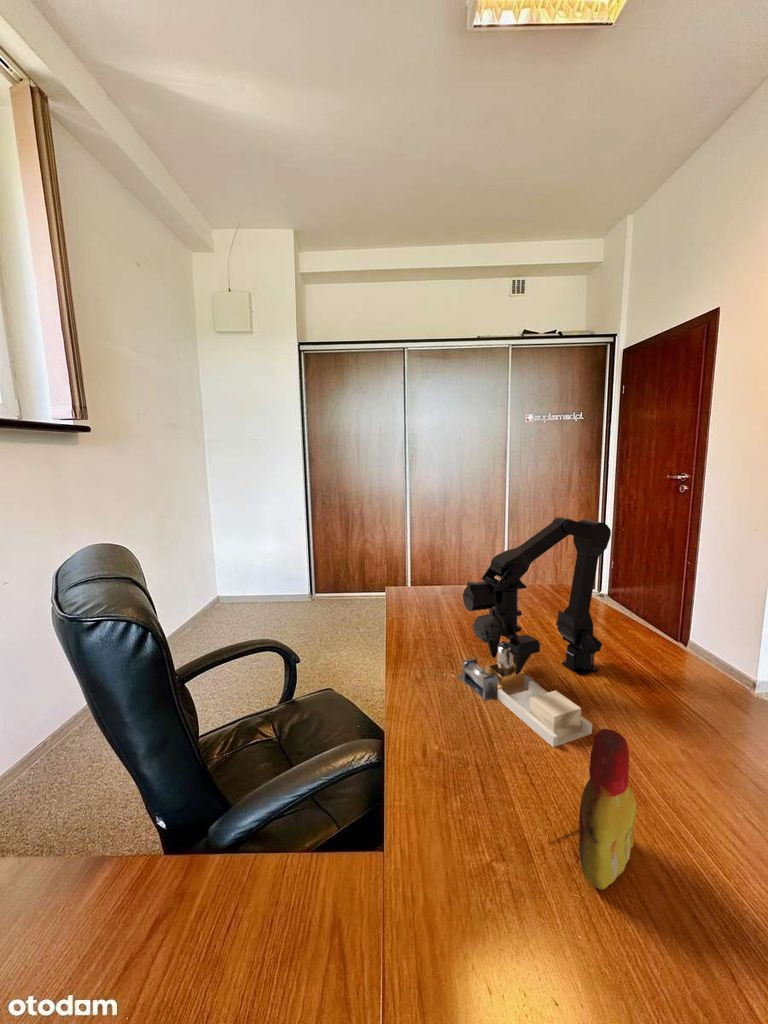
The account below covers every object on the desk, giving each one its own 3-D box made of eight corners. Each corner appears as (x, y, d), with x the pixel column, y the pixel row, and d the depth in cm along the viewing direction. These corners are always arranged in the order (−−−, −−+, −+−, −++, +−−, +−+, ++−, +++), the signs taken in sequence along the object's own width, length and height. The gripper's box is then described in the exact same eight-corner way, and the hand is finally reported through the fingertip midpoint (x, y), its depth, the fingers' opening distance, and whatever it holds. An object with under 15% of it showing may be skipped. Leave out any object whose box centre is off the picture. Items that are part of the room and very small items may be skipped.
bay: (531, 690, 99) (532, 680, 99) (591, 735, 83) (592, 724, 82) (497, 700, 95) (497, 690, 95) (553, 749, 79) (553, 737, 79)
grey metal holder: (508, 664, 112) (509, 647, 111) (540, 686, 101) (540, 668, 100) (458, 676, 106) (458, 659, 105) (485, 702, 95) (485, 682, 94)
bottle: (614, 914, 51) (622, 768, 48) (562, 877, 55) (567, 742, 53) (641, 848, 59) (649, 721, 56) (594, 821, 64) (599, 702, 61)
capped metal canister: (505, 673, 106) (506, 638, 105) (515, 680, 103) (516, 644, 101) (494, 676, 105) (495, 641, 103) (503, 683, 102) (504, 647, 100)
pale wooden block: (552, 709, 91) (553, 688, 90) (580, 730, 84) (581, 708, 83) (527, 717, 88) (527, 696, 87) (553, 740, 81) (554, 716, 80)
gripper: (457, 599, 107) (457, 655, 109) (502, 625, 90) (501, 691, 92) (493, 593, 111) (492, 647, 113) (542, 617, 94) (540, 680, 96)
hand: (504, 665), depth 103 cm, fingers open, 9 cm apart
